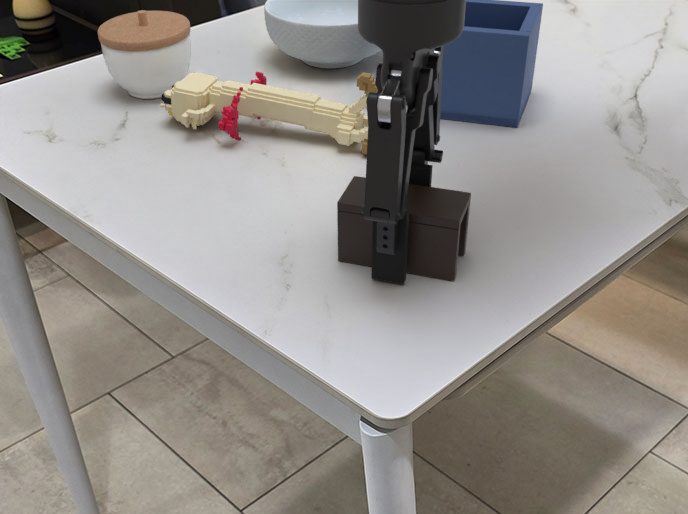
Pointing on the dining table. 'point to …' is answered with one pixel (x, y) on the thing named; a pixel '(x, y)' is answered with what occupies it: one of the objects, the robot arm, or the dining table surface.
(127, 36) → the trinket box
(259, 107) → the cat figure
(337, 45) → the cereal bowl
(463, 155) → the dining table surface
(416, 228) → the dark brown block
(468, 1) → the blue box
